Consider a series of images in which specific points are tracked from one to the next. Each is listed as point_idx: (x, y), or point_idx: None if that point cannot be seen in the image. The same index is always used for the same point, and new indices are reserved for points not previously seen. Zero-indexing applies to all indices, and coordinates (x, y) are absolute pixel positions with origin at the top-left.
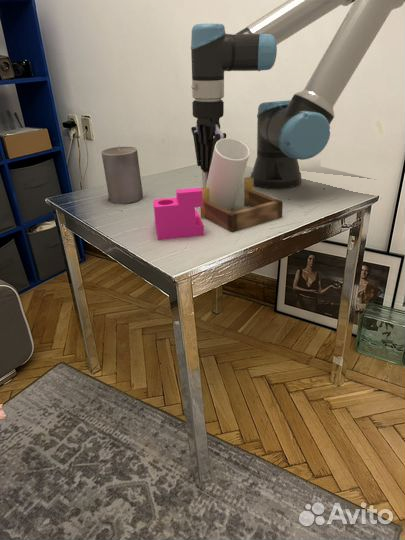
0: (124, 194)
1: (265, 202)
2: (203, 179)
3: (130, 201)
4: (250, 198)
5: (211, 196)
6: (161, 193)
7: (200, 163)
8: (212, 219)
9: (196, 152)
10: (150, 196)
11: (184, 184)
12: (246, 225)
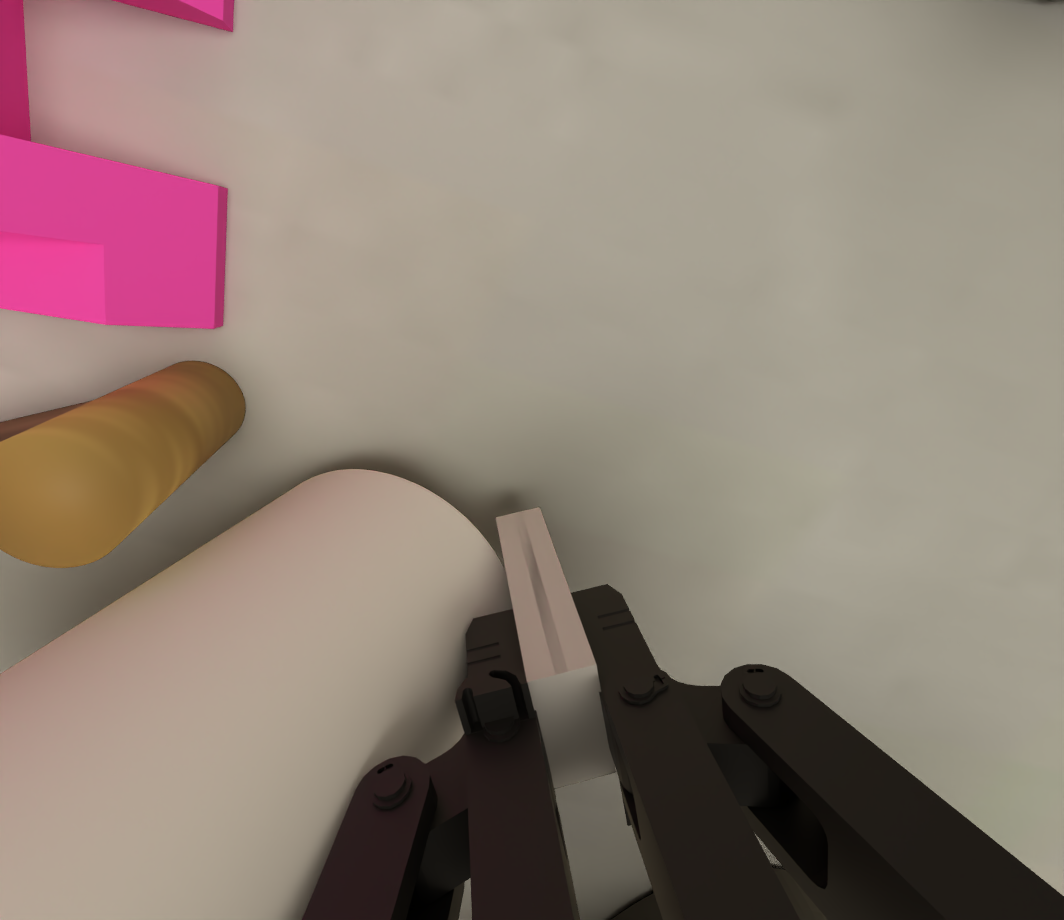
0: None
1: None
2: (551, 600)
3: None
4: None
5: (204, 545)
6: (983, 217)
7: (730, 722)
8: (9, 423)
9: (941, 841)
10: (978, 82)
11: (1050, 472)
12: None
